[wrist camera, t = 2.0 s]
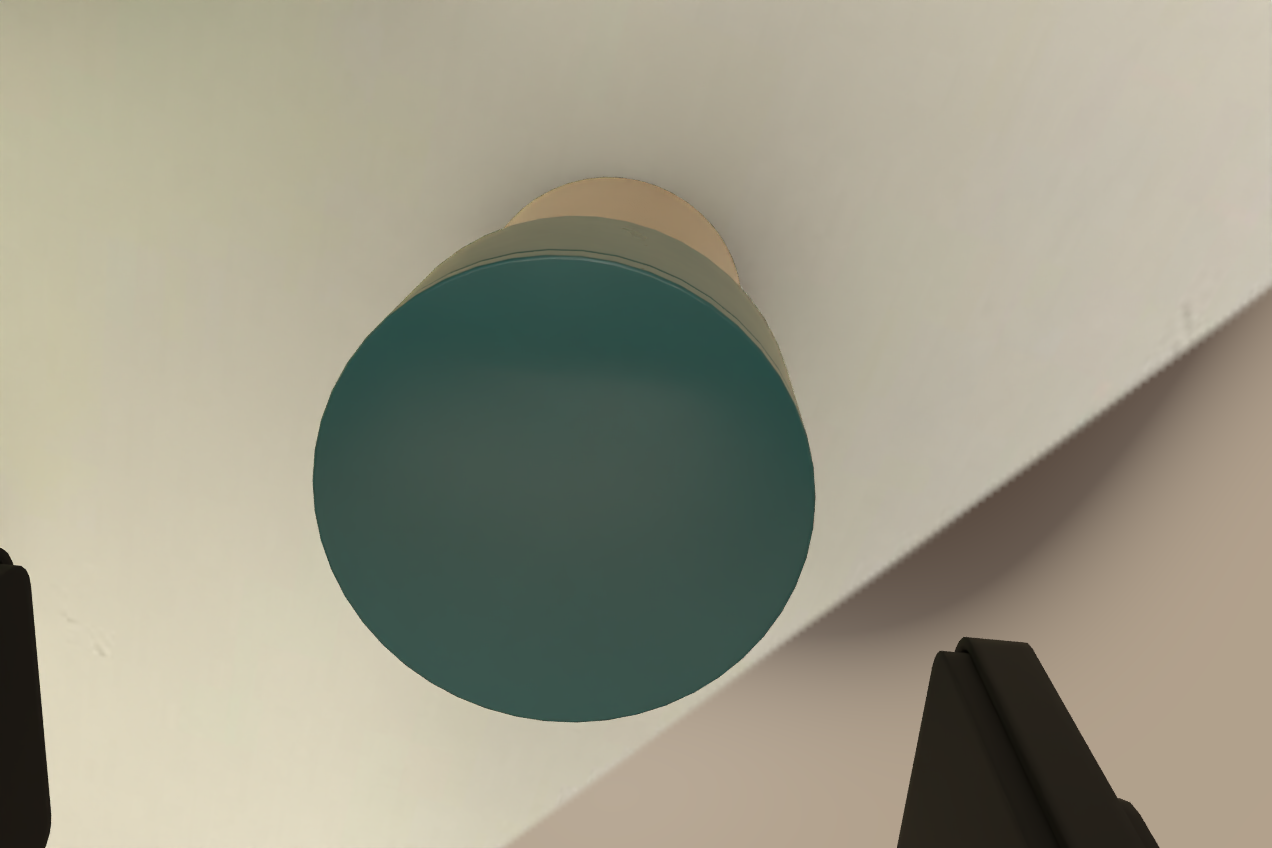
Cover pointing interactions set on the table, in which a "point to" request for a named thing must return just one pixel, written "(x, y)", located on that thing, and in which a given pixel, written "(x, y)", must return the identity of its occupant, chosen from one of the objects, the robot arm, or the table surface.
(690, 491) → the jar lid
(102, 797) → the table surface
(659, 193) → the jar
